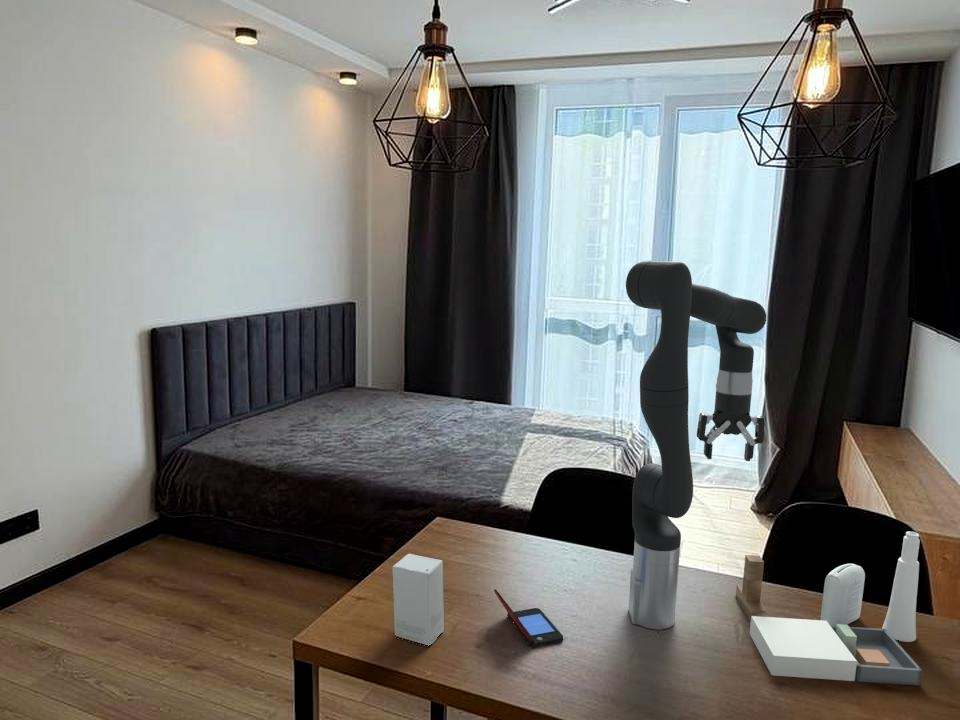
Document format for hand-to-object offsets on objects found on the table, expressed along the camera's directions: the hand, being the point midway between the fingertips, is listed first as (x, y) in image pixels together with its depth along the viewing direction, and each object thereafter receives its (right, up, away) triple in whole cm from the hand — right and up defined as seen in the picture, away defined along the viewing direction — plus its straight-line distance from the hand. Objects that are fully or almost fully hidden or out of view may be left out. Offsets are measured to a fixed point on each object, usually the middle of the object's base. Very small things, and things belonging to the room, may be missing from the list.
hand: (727, 459), depth 156 cm
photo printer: (+20, -33, -10) cm, 40 cm away
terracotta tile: (+17, -33, -27) cm, 46 cm away
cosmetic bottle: (+30, -34, -15) cm, 48 cm away
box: (+18, -35, -25) cm, 47 cm away
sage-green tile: (+14, -32, -22) cm, 41 cm away
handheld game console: (-47, -33, -16) cm, 60 cm away
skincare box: (-69, -33, -19) cm, 79 cm away
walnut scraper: (+2, -32, -7) cm, 33 cm away
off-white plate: (+5, -35, -24) cm, 42 cm away
